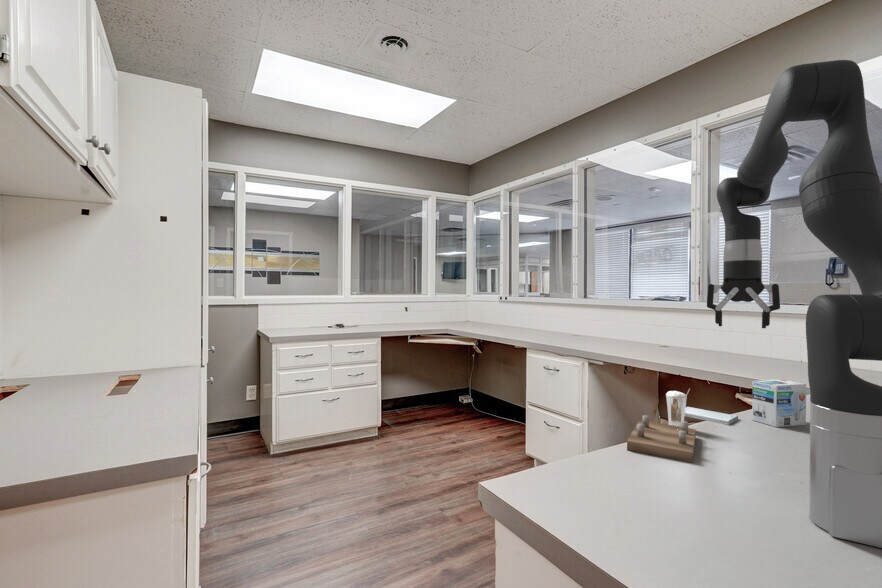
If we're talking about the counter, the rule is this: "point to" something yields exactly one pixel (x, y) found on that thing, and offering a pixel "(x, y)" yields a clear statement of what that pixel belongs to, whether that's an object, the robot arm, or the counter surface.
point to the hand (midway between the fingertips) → (741, 327)
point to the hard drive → (710, 416)
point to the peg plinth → (663, 440)
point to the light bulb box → (779, 402)
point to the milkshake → (676, 407)
